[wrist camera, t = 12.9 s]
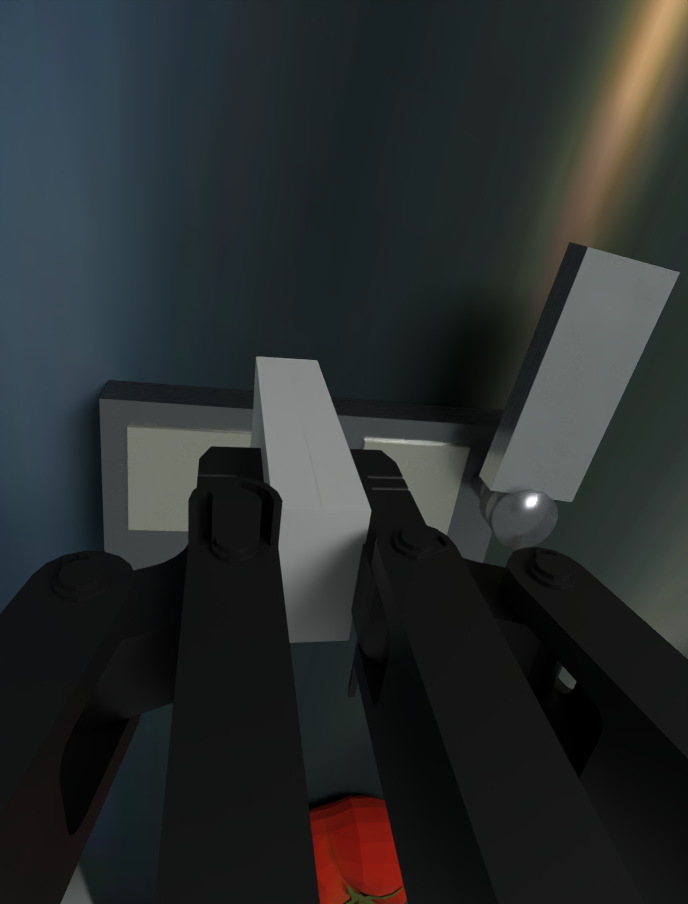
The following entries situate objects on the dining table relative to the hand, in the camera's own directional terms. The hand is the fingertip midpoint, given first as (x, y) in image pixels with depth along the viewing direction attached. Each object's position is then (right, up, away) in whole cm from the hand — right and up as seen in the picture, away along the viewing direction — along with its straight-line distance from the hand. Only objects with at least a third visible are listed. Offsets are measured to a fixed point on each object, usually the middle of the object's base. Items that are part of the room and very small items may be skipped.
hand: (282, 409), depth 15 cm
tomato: (+1, -38, +44) cm, 58 cm away
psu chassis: (-1, -3, +26) cm, 26 cm away
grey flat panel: (+14, +2, +20) cm, 24 cm away
